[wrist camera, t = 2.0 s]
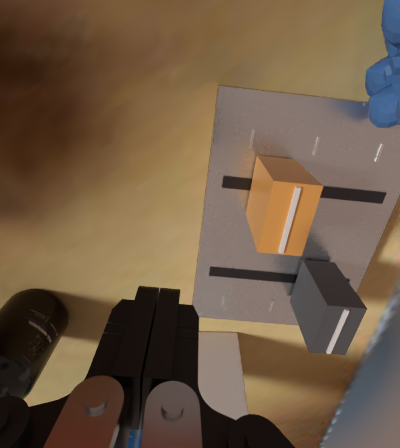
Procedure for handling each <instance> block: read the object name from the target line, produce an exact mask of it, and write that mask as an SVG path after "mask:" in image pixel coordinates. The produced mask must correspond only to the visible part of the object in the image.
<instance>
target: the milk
mask: <svg viewBox="0 0 400 448" xmlns="http://www.w3.org/2000/svg"><path fill="white" fill-rule="evenodd" d="M198 342H199V345H198V387H199V391H200V394H201V396H202V398H203V399H204V401H205V402H206V403H207V404H208V405H209V406H210V407H211V408H212V409H214V410H215V411H217V412H219V413H221V414H223V415H226V416H228V417H230V418H233V419H235V420H237V419H238V418H240V417H242V416H244V415H248V408H247V400H246V393H245V385H244V378H243V371H242V363H241V356H240V348H239V341H238V334H237V333H236V332H199V340H198Z"/></svg>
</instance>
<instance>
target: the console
mask: <svg viewBox="0 0 400 448" xmlns="http://www.w3.org/2000/svg"><path fill="white" fill-rule="evenodd" d="M368 104H369V102H363V101H354V100H345V99H337V98H328V97H319V96H310V95H302V94H293V93H284V92H276V91H267V90H258V89H250V88H241V87H232V86H223V85H218V89H217V98H216V106H215V114H214V123H213V131H212V140H211V148H210V156H209V165H208V173H207V182H206V190H205V198H204V207H203V215H202V224H201V232H200V240H199V249H198V257H197V266H196V274H195V282H194V291H193V299H192V305H193V306H194V308H195V310H196V312H197V314H198V316H199V317H202V318H215V319H227V320H239V321H251V322H263V323H275V324H287V325H299V324H298V322H297V319H296V317H295V314H294V311H293V309H292V306H291V303H290V299H291V295H292V292H293V289H294V286H295V283H296V280H297V276H298V273H299V270H300V267H301V264H302V260H314V261H325V262H335V264H336V265H337V266H338V268H339V269H340V271H341V272H342V274H343V275H344V276H345V278H346V279H347V281H348V282H349V284H350V285H351V286H352V288H353V289H354V291H355V292H356V293H357V290H358V288H359V286H360V284H361V281H362V279H363V277H364V275H365V272H366V270H367V268H368V265H369V263H370V261H371V259H372V256H373V254H374V252H375V250H376V247H377V245H378V243H379V241H380V238H381V236H382V234H383V232H384V229H385V227H386V225H387V222H388V220H389V218H390V216H391V213H392V211H393V209H394V207H395V204H396V202H397V200H398V198H399V195H400V125H399V124H398V125H395V126H392V127H390V128H377V127H376V126H375V125H373V124H372V123H371V122H370V119H369V115H368ZM257 156H267V157H276V158H286V159H295V160H296V161H297V162H298V163H299V164H301V165H302V166H303V167H304V168H305V169H306V170H307V171H308V172H309V173H310V174H311V175H312V176H313V177H314V178H315V179H317V180H318V181H319V182H320V183H321V184H322V185H323V189H322V192H321V196H320V199H319V202H318V205H317V208H316V212H315V215H314V218H313V221H312V225H311V228H310V231H309V234H308V237H307V241H306V244H305V247H304V250H303V254H302V256H292V255H281V254H271V253H260V252H257V249H256V246H255V243H254V239H253V236H252V233H251V230H250V226H249V223H248V220H247V217H246V210H247V204H248V199H249V194H250V189H251V184H252V179H253V173H254V168H255V163H256V158H257Z"/></svg>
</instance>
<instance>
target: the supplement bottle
mask: <svg viewBox="0 0 400 448" xmlns="http://www.w3.org/2000/svg"><path fill="white" fill-rule="evenodd" d="M68 320H69V317H68V312H67V309H66V308H65V306H64V305H63V303H62V302H61V301H60V300H59V299H57V298H56V297H55V296H53V295H51V294H49V293H47V292H44V291H39V290H25V291H21V292H19V293H16V294H15V295H13V296H12V297H11V298H10V299H9V300H8V301H7V302H6V303H5V304H4V305H3V307H2V308H1V309H0V397H2V396H17V397H20V398H21V399H24V398H25V397H26V396H27V395H28V394H29V393H30V392H31V390H32V388H33V387H34V385H35V383H36V381H37V380H38V378H39V376H40V374H41V372H42V371H43V369H44V367H45V365H46V363H47V362H48V360H49V358H50V356H51V354H52V353H53V351H54V349H55V347H56V345H57V344H58V342H59V340H60V338H61V337H62V335H63V333H64V331H65V329H66V327H67V325H68Z"/></svg>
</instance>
